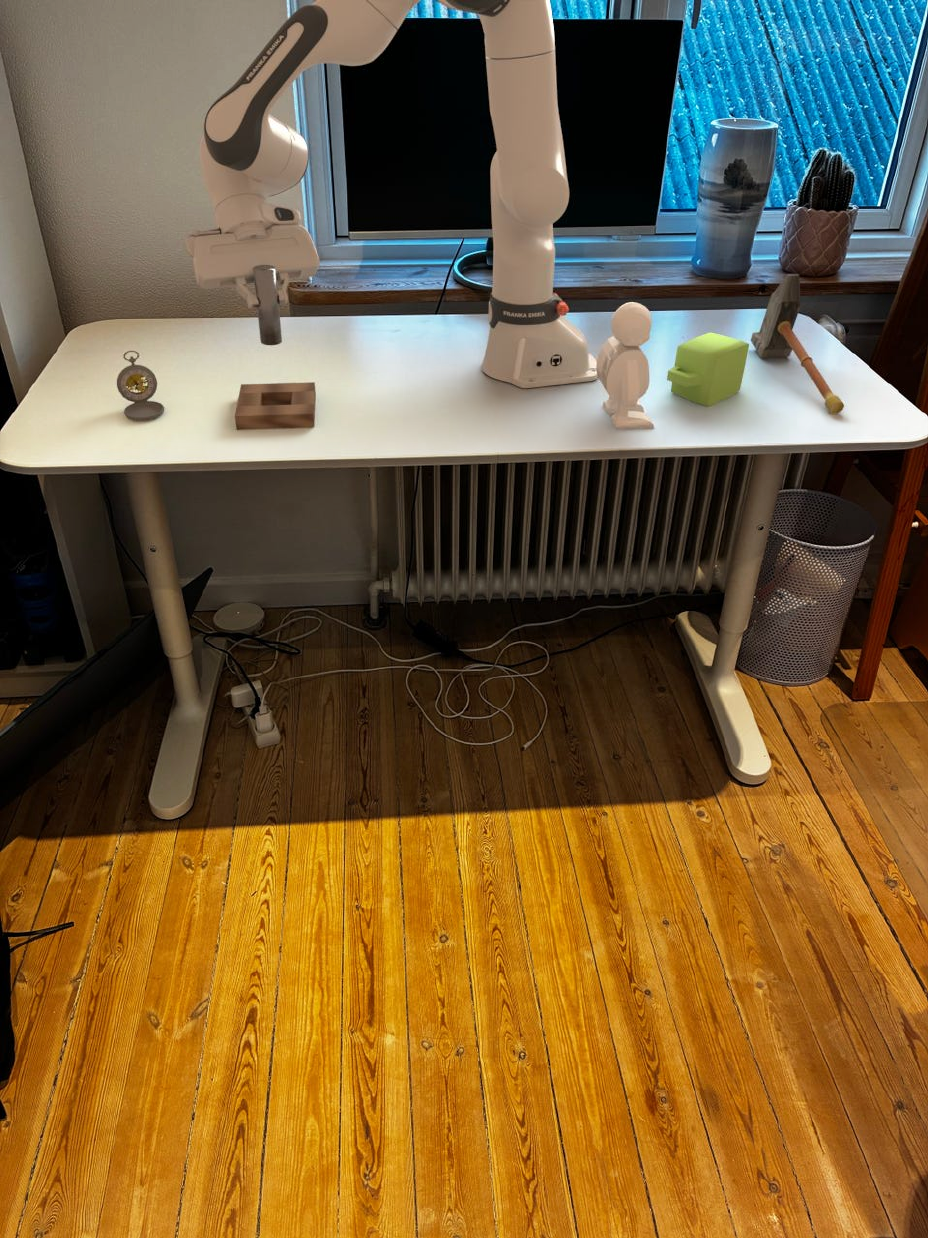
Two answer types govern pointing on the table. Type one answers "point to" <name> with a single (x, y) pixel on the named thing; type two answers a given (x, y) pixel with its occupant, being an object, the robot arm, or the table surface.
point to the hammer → (789, 336)
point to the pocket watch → (131, 378)
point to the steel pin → (267, 304)
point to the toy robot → (626, 366)
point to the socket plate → (276, 406)
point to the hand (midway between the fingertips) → (268, 304)
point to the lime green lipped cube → (708, 368)
